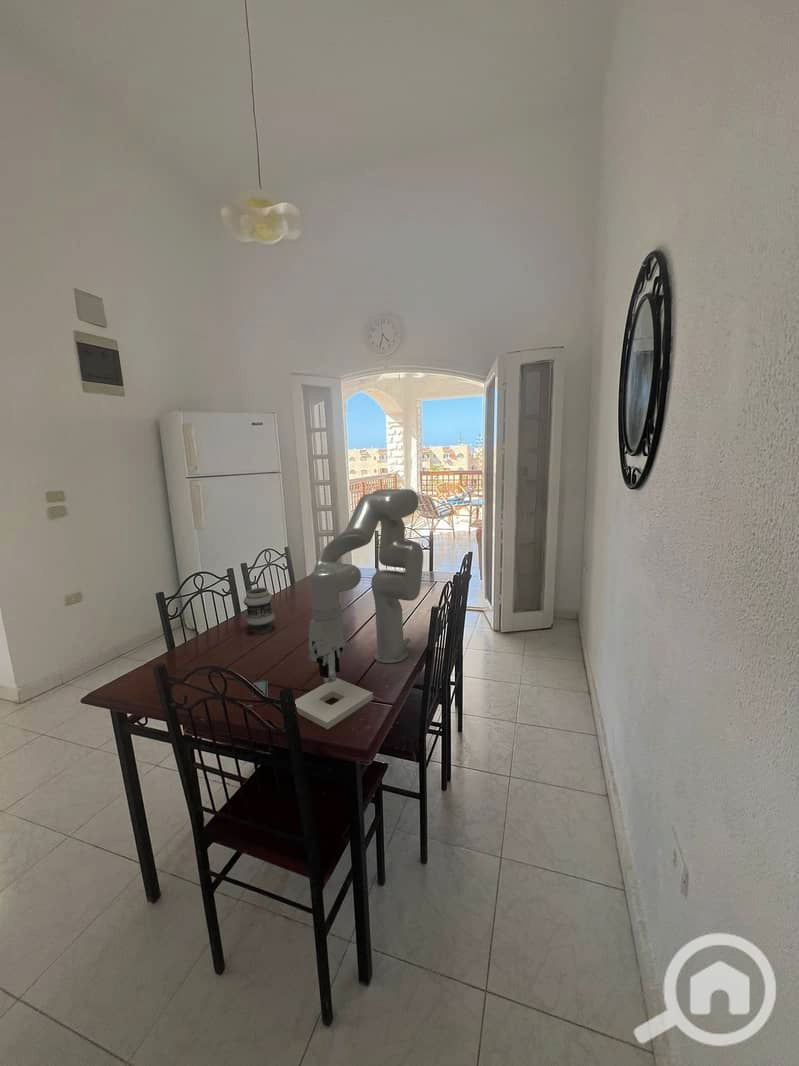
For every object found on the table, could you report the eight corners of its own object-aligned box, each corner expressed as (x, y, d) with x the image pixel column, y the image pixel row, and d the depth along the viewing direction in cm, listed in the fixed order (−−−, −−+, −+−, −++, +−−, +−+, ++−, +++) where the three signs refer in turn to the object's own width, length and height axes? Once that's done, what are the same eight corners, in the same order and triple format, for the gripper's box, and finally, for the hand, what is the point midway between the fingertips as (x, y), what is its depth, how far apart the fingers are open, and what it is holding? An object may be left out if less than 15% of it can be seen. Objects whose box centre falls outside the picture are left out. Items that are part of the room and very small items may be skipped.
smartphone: (267, 679, 141) (267, 702, 126) (267, 682, 141) (267, 705, 127) (243, 683, 139) (240, 707, 124) (244, 686, 139) (241, 710, 125)
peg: (330, 674, 127) (328, 638, 125) (341, 678, 124) (339, 642, 123) (318, 680, 124) (316, 644, 122) (329, 685, 121) (327, 647, 119)
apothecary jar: (240, 633, 181) (236, 592, 178) (261, 623, 191) (258, 584, 188) (261, 638, 175) (257, 596, 172) (282, 627, 185) (278, 587, 182)
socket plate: (336, 683, 137) (335, 677, 137) (373, 699, 127) (372, 692, 127) (290, 709, 123) (289, 703, 123) (327, 729, 114) (327, 722, 113)
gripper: (338, 602, 129) (341, 659, 132) (293, 618, 117) (298, 681, 120) (356, 607, 125) (359, 666, 128) (311, 624, 112) (316, 689, 115)
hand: (329, 673), depth 124 cm, fingers closed on peg, 3 cm apart
